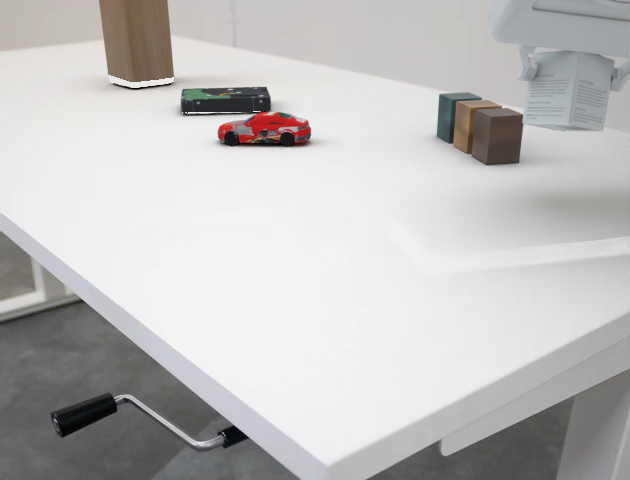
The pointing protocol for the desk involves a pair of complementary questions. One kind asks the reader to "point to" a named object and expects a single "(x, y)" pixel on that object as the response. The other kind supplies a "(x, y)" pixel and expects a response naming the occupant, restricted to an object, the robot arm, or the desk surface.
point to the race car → (266, 129)
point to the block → (137, 39)
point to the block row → (480, 127)
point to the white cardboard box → (569, 91)
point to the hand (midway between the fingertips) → (567, 82)
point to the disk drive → (225, 99)
